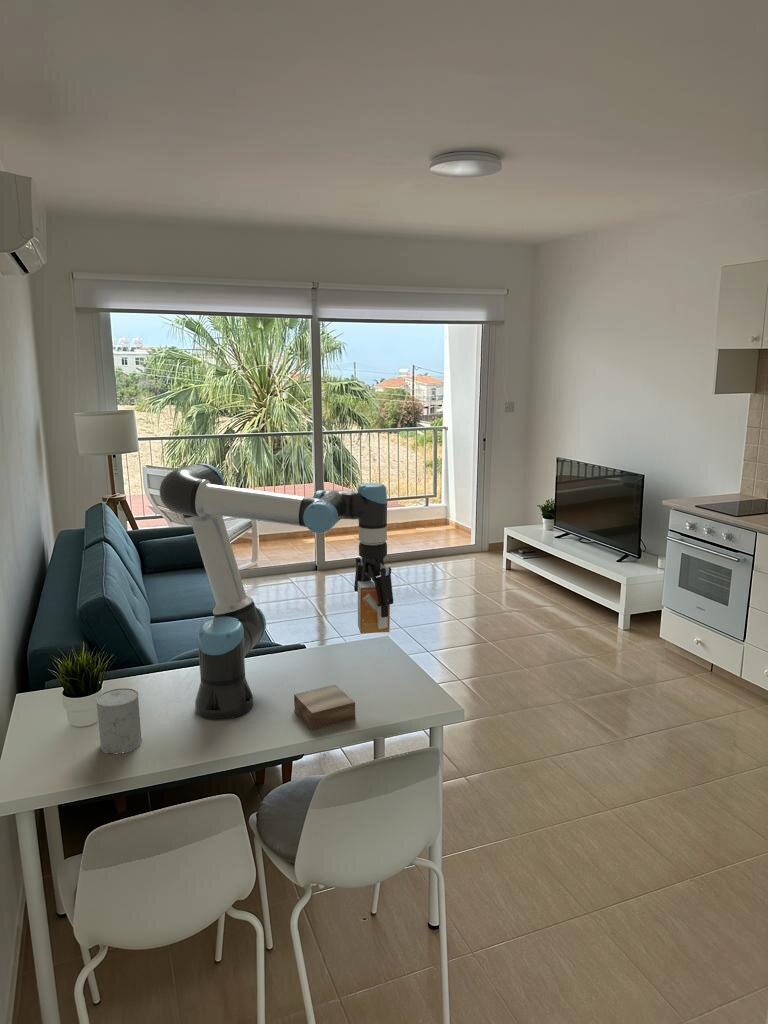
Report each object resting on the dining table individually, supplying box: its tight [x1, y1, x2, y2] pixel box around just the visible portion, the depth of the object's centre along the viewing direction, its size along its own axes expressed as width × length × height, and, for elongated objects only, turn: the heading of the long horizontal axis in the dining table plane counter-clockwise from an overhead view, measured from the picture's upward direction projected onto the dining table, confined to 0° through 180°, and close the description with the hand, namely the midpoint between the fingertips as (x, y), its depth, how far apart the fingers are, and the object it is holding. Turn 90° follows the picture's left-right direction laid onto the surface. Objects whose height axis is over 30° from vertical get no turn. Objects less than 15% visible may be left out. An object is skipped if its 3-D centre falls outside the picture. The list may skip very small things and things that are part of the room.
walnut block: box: [293, 684, 356, 731], centre depth 190 cm, size 12×12×5 cm
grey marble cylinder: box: [95, 687, 143, 755], centre depth 175 cm, size 10×10×12 cm
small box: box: [357, 579, 391, 634], centre depth 196 cm, size 8×6×13 cm
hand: (373, 622), depth 197 cm, fingers closed on small box, 8 cm apart
